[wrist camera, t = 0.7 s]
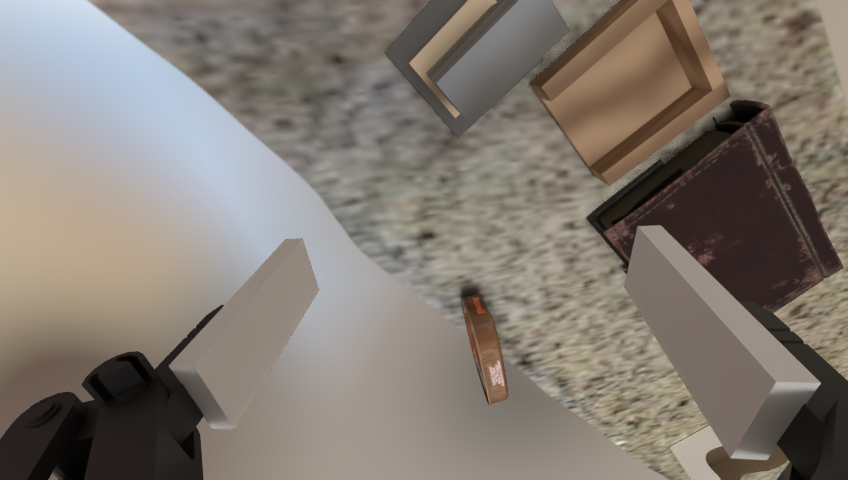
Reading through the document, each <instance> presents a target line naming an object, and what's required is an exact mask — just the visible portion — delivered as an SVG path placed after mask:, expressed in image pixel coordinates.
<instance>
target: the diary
mask: <svg viewBox="0 0 848 480" xmlns="http://www.w3.org/2000/svg"><path fill="white" fill-rule="evenodd" d="M730 106H731V108H732V110H733V112H734V114H735V116H736V118H737V120H738V122H737V121H726V122H719V123H717V121H716V120H715V118H714V117H713V120H714V122H715V123H716V125H715V126H716V127H717V129H718V131H707V132H706V133H705V134H703V135H702V136H701V137H699V138H698V139H697V140H696V141H694V142H693V143H692V144H690V145H689V146H688V147H687V148H685V149H684V150H683V151H681V152H680V153H679V154H677V155H676V156H675V157H674V158H672V159H671V160H670V161H668V162H667V163H666V164H665V165H664V164H663V163H662V161H661V159H660V160H659V161H657V162H656V163H655V164H653V165H652V166H651V167H649V168H648V169H647V170H646V171H644V172H643V173H642V174H640V175H639V176H638V177H637V178H635V179H634V180H633V181H631V182H630V183H629V184H628V185H626V186H625V187H624V188H622V189H621V190H620V191H618V192H617V193H616V194H614V195H613V196H612V197H611V198H609V199H608V200H607V201H606V202H605V203H603V204H602V205H601V206H600V207H599V208H597V209H596V210H595V211H594V212H593V213H592V214H591V215H590V217H589V218H588V221H589V222H590V223H591V225H592V226H593V227H594V228H595V229H596V230H597V232H598V233H599V234H600V235H601V236H602V238H603V239H604V240H605V241H606V242H607V243H608V245H609V246H610V247H611V248H612V249H613V250H614V252H615V253H616V254H617V255H618V256H619V257H620V258H621V260H622V261H623V262H624V263H625V264H626V265H627V266H628V267H629V262H630V258H631V254H632V249H633V245H634V240H635V236H636V231H637V227H638V226H656V225H661V226H662V227H663V228H664V229H665V230H666V231H667V232H668V233H669V234H670V235H671V236H672V237H673V238H674V239H675V240H676V241H677V242H678V243H679V244H680V245H681V246H682V247H683V248H684V249H685V250H686V251H687V252H688V253H689V254H690V255H691V256H692V257H693V258H694V259H695V260H696V261H697V262H698V263H699V264H700V265H702V266H703V267H704V268H705V269H706V270H707V271H708V272H709V273H710V274H711V275H712V276H713V277H714V278H715V279H716V280H717V281H718V282H719V283H720V284H721V285H722V286H723V287H724V288H725V289H726V290H727V291H728V292H729V293H730V294H731V295H732V296H733V297H734V298H735V299H736V300H737V301H752V302H754V303H755V304H757V305H759V306H761V307H762V308H764V309H766V310H768V311H769V312H771V313H774V312H776V311H777V310H779V309H780V308H782V307H783V306H785V305H786V304H788V303H789V302H791V301H792V300H794V299H796V298H797V297H799V296H800V295H802V294H803V293H805V292H806V291H808V290H809V289H811V288H812V287H814V286H815V285H817V284H818V283H820V282H821V281H823V279H824V278H828V277H829V276H831V275H833V274H834V273H836V272H838V271H839V270H841V269H843V265H842V263H841V261H840V259H839V257H838V255H837V253H836V251H835V249H834V247H833V245H832V244H831V242H830V240H829V238H828V236H827V234H826V232H825V230H824V228H823V225H822V223H821V220H820V218H819V215H818V213H817V210H816V208H815V206H814V203H813V201H812V198H811V196H810V193H809V191H808V189H807V187H806V186H805V184H804V182H803V180H802V178H801V176H800V174H799V172H798V170H797V168H796V166H795V165H794V163H793V161H792V159H791V157H790V155H789V153H788V150H787V148H786V145H785V143H784V140H783V138H782V135H781V133H780V130H779V127H778V125H777V122H776V120H775V117H774V115H773V112H772V110H771V108H770V106H769V105H767V104H764V103H761V102H756V101H748V100H743V101H733V102H732V103H731V104H730ZM627 271H628V270H626V271H624V272H625V273H626V274H627Z"/></svg>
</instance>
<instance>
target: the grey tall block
mask: <svg viewBox="0 0 848 480" xmlns="http://www.w3.org/2000/svg"><path fill="white" fill-rule="evenodd" d="M569 31H570V30H569V28H568V26H567V25H566V23H565V21H564V20H563V18H562V16H561V15H560V13H559V11H558V10H557V8H556V6H555V5H554V3H553V1H552V0H501V1H499V2H498V3H497V1H496V0H467V1H466V2H465V3H464V5H463V6H462V7H461V8H460V9H459V10H458V11H457V12H456V13H455V14H454V15H453V16H452V17H451V18H450V19H449V21H448V22H447V23H446V24H445V25H444V26H443V27H442V28H441V29H440V30H439V31H438V32H437V33H436V34H435V35H434V36H433V38H432V39H431V40H430V41H429V42H428V43H427V44H426V45H425V46H424V47H423V48H422V49H421V50H420V51H419V52H418V53H417V55H416V56H415V57H414V58H413V59H412V60H411V61H410V62H409V64H410V65H411V66H412V68H413V69H414V70H415V71H416V72H417V73H418V75H419V76H420V77H421V78H422V79H423V81H424V82H425V83H426V84H427V85H428V87H429V88H430V89H431V90H432V91H433V92H434V94H435V95H436V96H437V97H438V98H439V100H440V101H441V102H442V103H443V104H444V105H445V107H446V108H447V109H448V110H449V111H450V113H451V114H452V115H453V116H454V117H455V118H456V117H457V116H458V115H459V114H461V115H462V116H463V117H464V118H465V119H466V120H467V121H468V123H469V124H470V123H471V122H472V121H473V120H474V119H475V118H476V117H477V116H479V115H480V114H481V113H482V112H483V111H484V110H485V109H486V108H487V107H488V106H489V105H490V104H492V103H493V102H494V101H495V100H496V99H497V98H498V97H499V96H500V95H501V94H502V93H503V92H505V91H506V90H507V89H508V88H509V87H510V86H511V85H512V84H513V83H514V82H515V81H516V80H517V79H519V78H520V77H521V76H522V75H523V74H524V73H525V72H526V71H527V70H528V69H529V68H530V67H532V66H533V65H534V64H535V63H536V62H537V61H538V60H539V59H540V58H541V57H542V56H543V55H545V54H546V53H547V52H548V51H549V50H550V49H551V48H552V47H553V46H554V45H555V44H556V43H558V42H559V41H560V40H561V39H562V38H563V37H564V36H565V35H566V34H567V33H568V32H569Z"/></svg>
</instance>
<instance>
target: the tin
mask: <svg viewBox="0 0 848 480" xmlns="http://www.w3.org/2000/svg"><path fill="white" fill-rule="evenodd" d="M461 304H462V308H463V313H464V318H465V322H466V326H467V331H468V335H469V340H470V344H471V349H472V352H473V356H474V360H475V364H476V367H477V371H478V374H479V377H480V380H481V384H482V387H483V390H484V394H485V397H486V399H487V402H488V404H489V405H490V404H492V403H495V402H499V401H503V400H506V399H507V398H508V388H507V381H506V375H505V369H504V364H503V358H502V353H501V347H500V343H499V339H498V335H497V331H496V328H495V325H494V322H493V319H492V316H491V314H490V312H489V311H488V309H487V307H486V305H485V303H484V300H483V296H482V295H481V294H477V295H472V296H468V297H465V298H463V297H461Z"/></svg>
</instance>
